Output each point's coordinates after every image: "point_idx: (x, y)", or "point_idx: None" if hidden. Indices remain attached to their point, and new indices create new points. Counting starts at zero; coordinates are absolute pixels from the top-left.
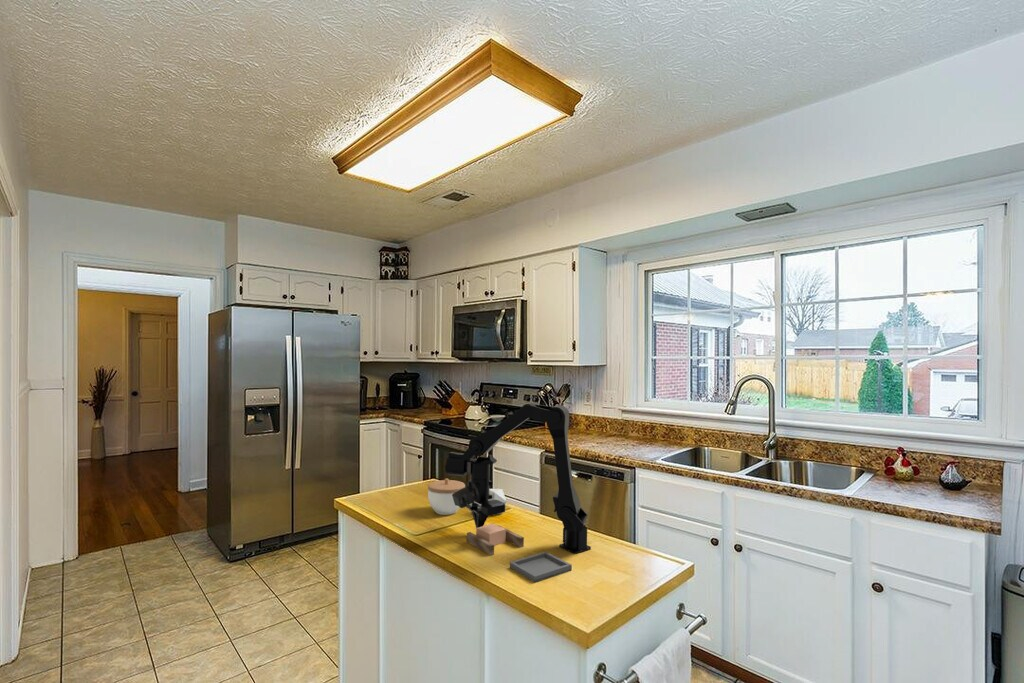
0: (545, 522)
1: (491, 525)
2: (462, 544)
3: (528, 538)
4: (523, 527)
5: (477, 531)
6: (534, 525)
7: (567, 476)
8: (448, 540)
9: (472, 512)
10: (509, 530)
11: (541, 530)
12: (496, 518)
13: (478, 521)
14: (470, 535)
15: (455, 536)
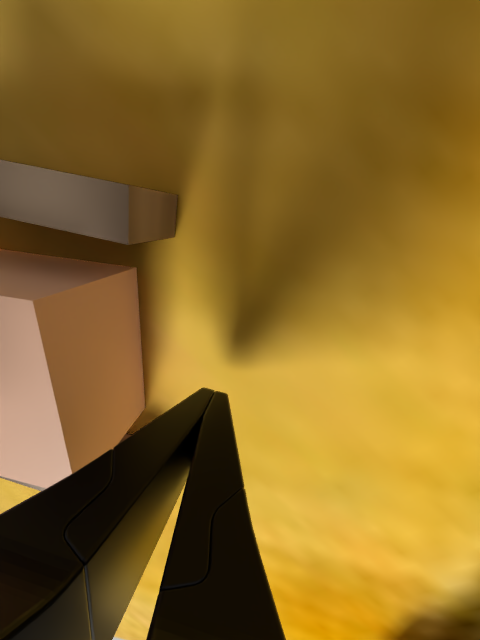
0: (143, 629)
1: (33, 457)
2: (144, 103)
3: None
4: (152, 569)
5: (43, 285)
6: (143, 597)
7: None
8: (348, 39)
9: (235, 630)
10: (1, 477)
11: None
12: (354, 617)
13: (117, 444)
14: (49, 170)
15: (366, 211)
